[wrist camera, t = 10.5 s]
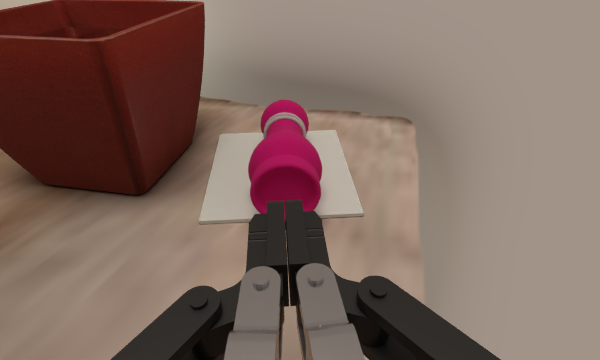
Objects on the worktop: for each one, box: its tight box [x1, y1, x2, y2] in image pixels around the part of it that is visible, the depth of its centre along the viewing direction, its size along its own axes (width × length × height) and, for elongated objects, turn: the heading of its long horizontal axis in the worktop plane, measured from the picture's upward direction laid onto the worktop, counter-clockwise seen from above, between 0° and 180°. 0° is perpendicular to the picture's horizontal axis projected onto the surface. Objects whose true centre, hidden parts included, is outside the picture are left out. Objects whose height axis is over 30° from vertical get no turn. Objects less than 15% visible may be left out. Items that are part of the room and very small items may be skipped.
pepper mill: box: [248, 100, 322, 222], centre depth 39 cm, size 7×7×20 cm
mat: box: [199, 130, 364, 224], centre depth 42 cm, size 18×16×1 cm
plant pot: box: [0, 0, 205, 194], centre depth 39 cm, size 19×19×17 cm
